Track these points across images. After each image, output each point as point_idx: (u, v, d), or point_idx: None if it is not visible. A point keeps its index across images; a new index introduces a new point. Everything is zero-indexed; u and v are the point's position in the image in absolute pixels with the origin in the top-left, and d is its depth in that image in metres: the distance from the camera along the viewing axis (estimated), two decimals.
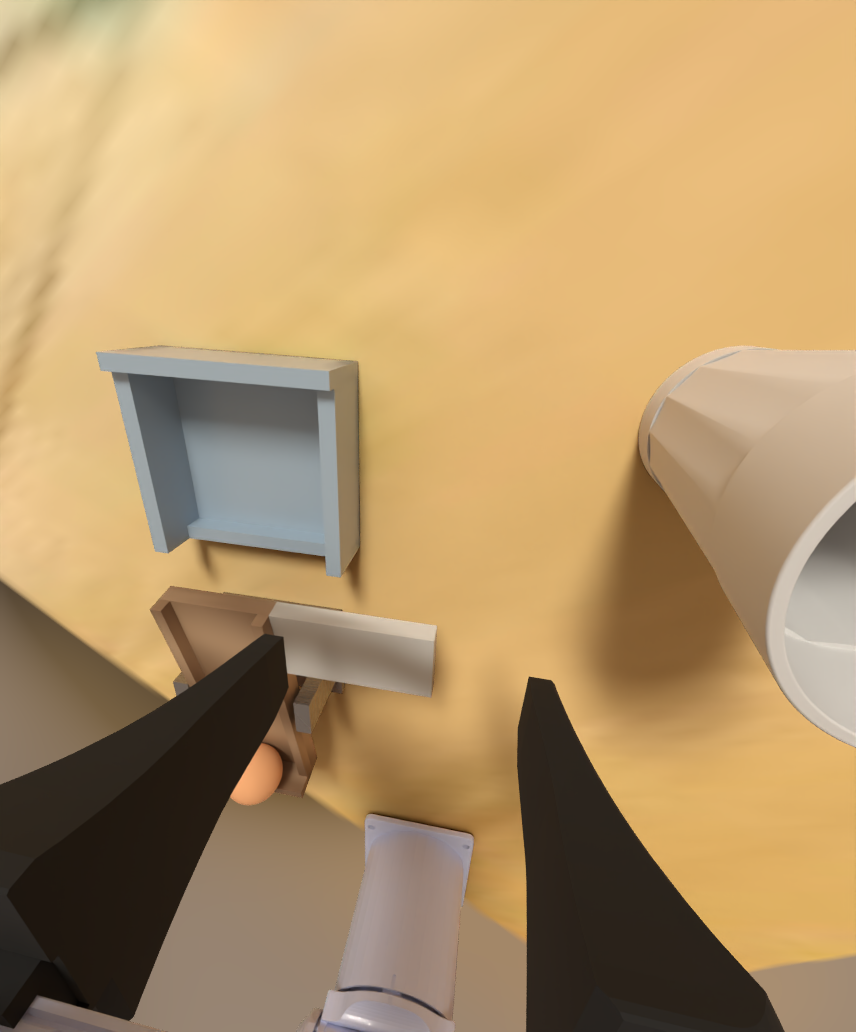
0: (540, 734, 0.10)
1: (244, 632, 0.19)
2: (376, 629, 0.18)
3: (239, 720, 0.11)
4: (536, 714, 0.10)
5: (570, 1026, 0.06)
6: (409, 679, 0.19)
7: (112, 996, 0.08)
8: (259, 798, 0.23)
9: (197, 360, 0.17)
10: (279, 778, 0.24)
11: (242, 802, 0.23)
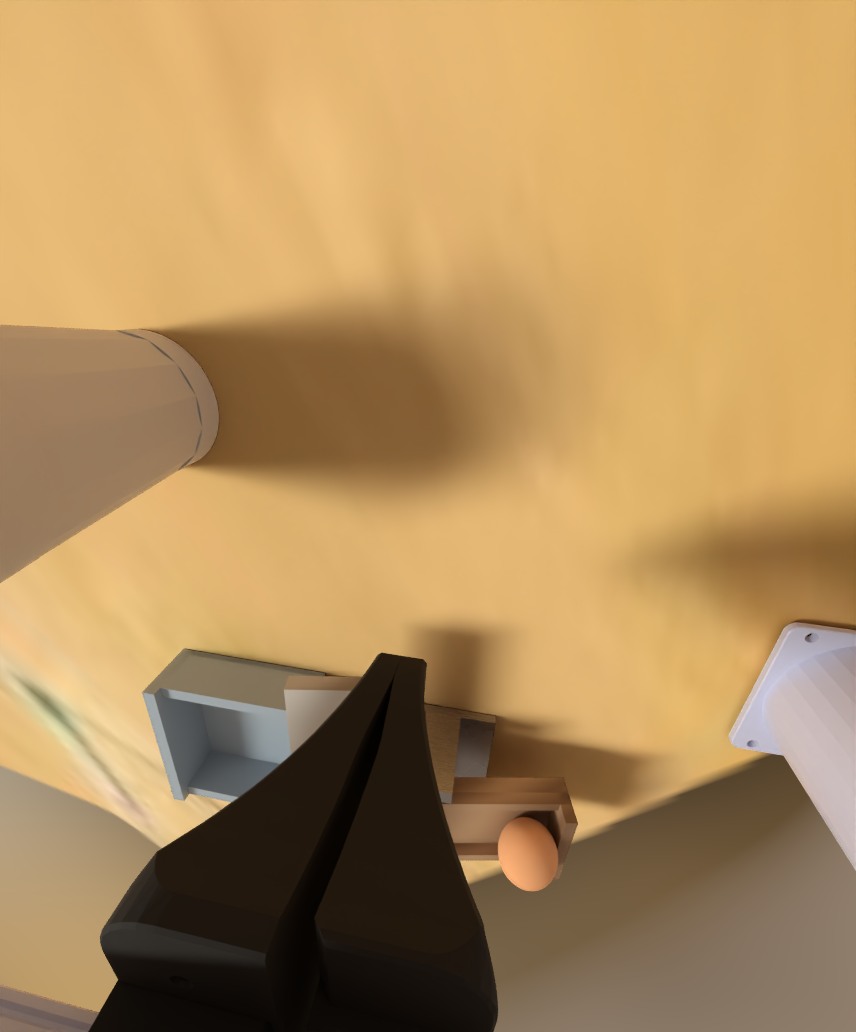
0: (387, 707, 0.10)
1: None
2: (288, 725, 0.20)
3: (376, 745, 0.11)
4: (391, 689, 0.11)
5: None
6: None
7: None
8: (533, 869, 0.21)
9: (161, 754, 0.27)
10: (532, 836, 0.22)
11: (535, 886, 0.21)
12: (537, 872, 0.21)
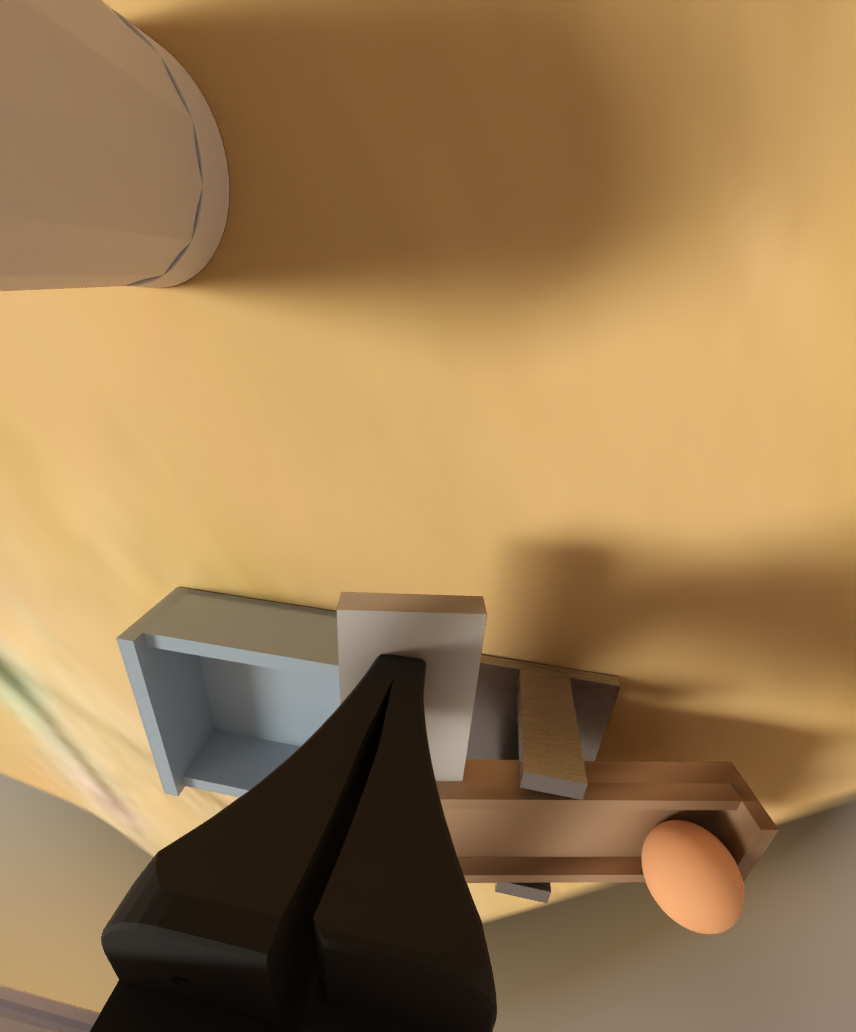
0: (387, 707, 0.10)
1: None
2: (339, 673, 0.13)
3: (376, 745, 0.11)
4: (391, 689, 0.11)
5: None
6: (442, 642, 0.12)
7: None
8: (717, 902, 0.14)
9: (146, 731, 0.19)
10: (705, 849, 0.14)
11: (718, 927, 0.14)
12: (723, 906, 0.13)
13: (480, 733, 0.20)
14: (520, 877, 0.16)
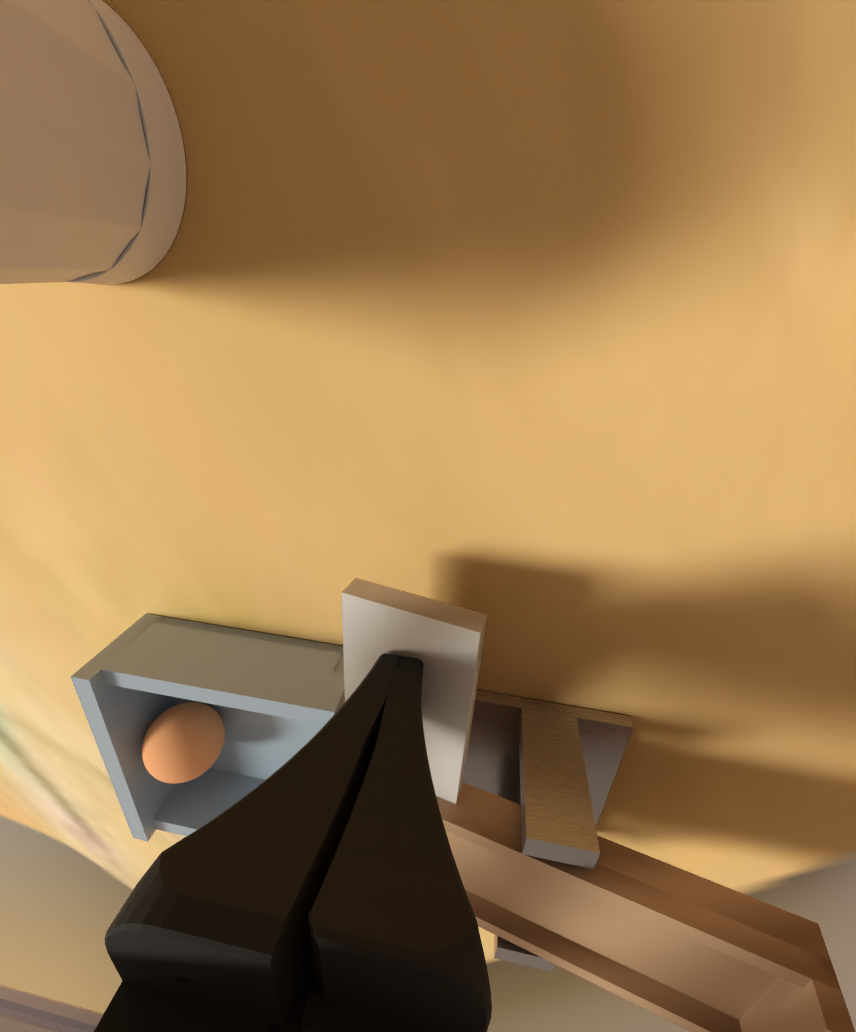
0: (384, 706, 0.10)
1: None
2: (345, 654, 0.13)
3: None
4: (388, 689, 0.11)
5: None
6: (435, 650, 0.12)
7: None
8: (147, 739, 0.17)
9: (109, 774, 0.17)
10: (177, 716, 0.18)
11: None
12: (146, 745, 0.17)
13: (478, 774, 0.18)
14: (510, 935, 0.15)
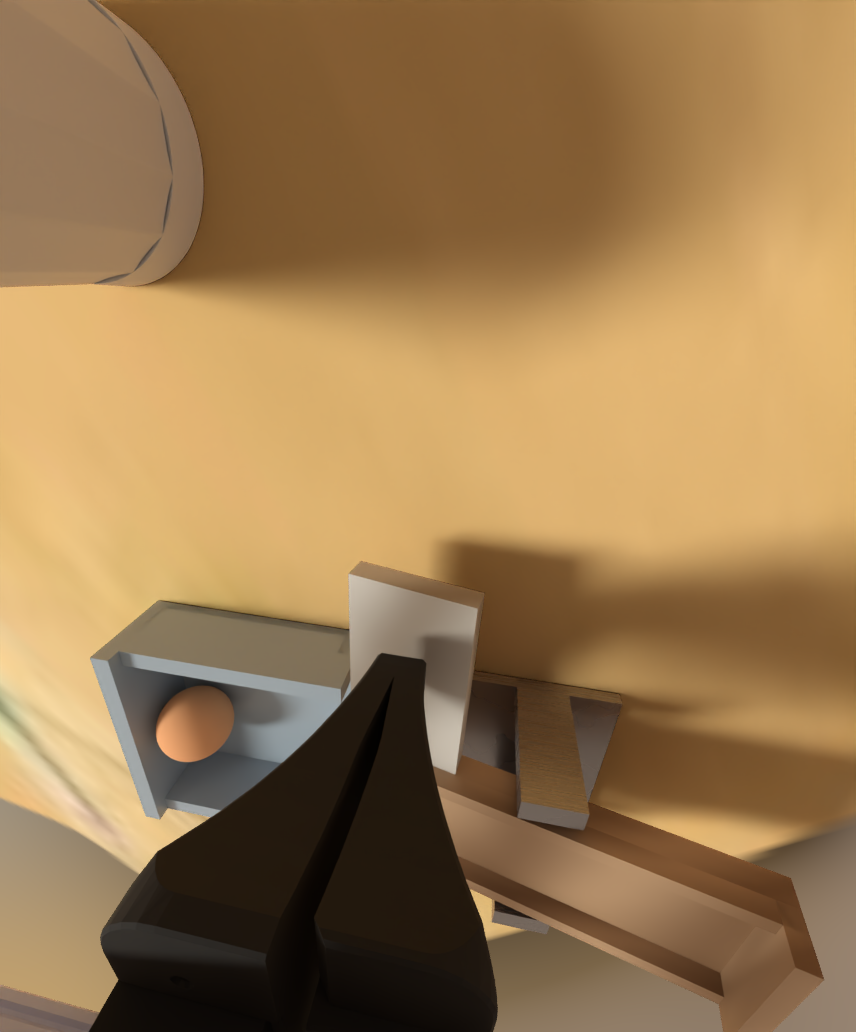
0: (387, 707, 0.10)
1: None
2: (351, 633, 0.14)
3: (375, 745, 0.11)
4: (391, 689, 0.11)
5: None
6: (435, 626, 0.13)
7: None
8: (160, 720, 0.18)
9: (124, 753, 0.18)
10: (189, 697, 0.18)
11: (157, 740, 0.18)
12: (160, 725, 0.18)
13: (476, 752, 0.19)
14: (507, 899, 0.16)
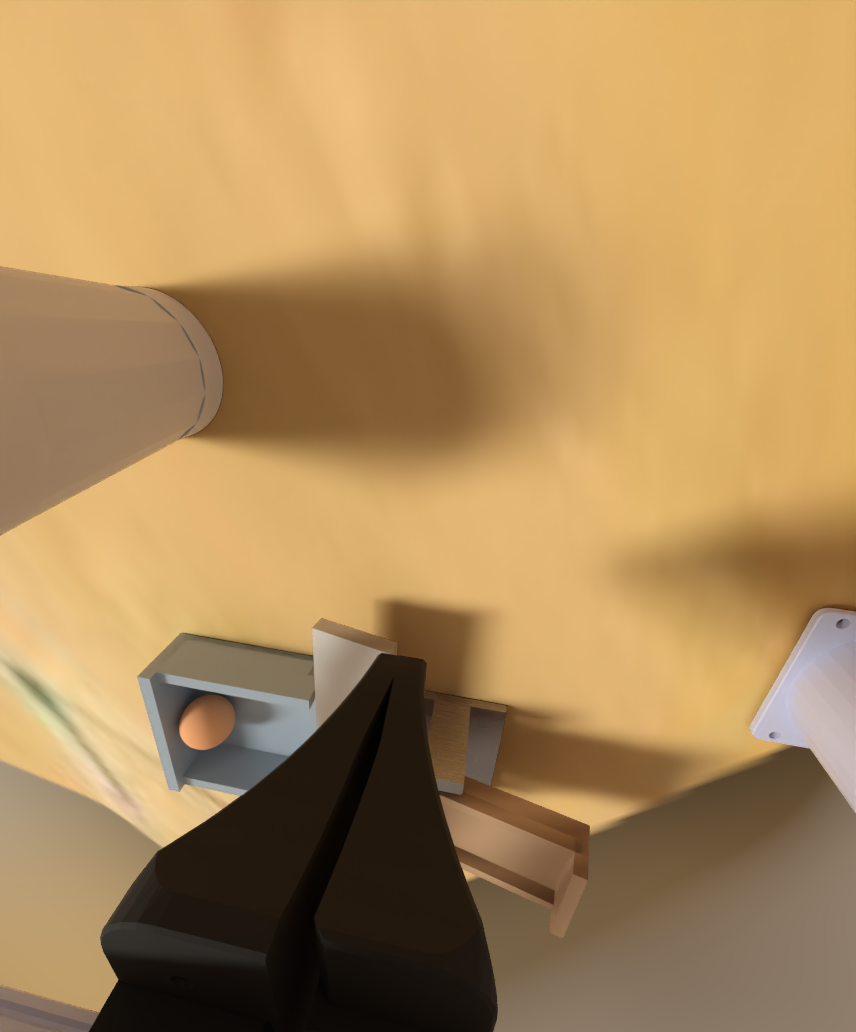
0: (387, 707, 0.10)
1: None
2: (315, 664, 0.22)
3: (376, 745, 0.11)
4: (391, 689, 0.11)
5: None
6: (366, 663, 0.20)
7: None
8: (183, 720, 0.25)
9: (156, 742, 0.25)
10: (203, 703, 0.26)
11: (180, 734, 0.25)
12: (183, 724, 0.25)
13: None
14: None
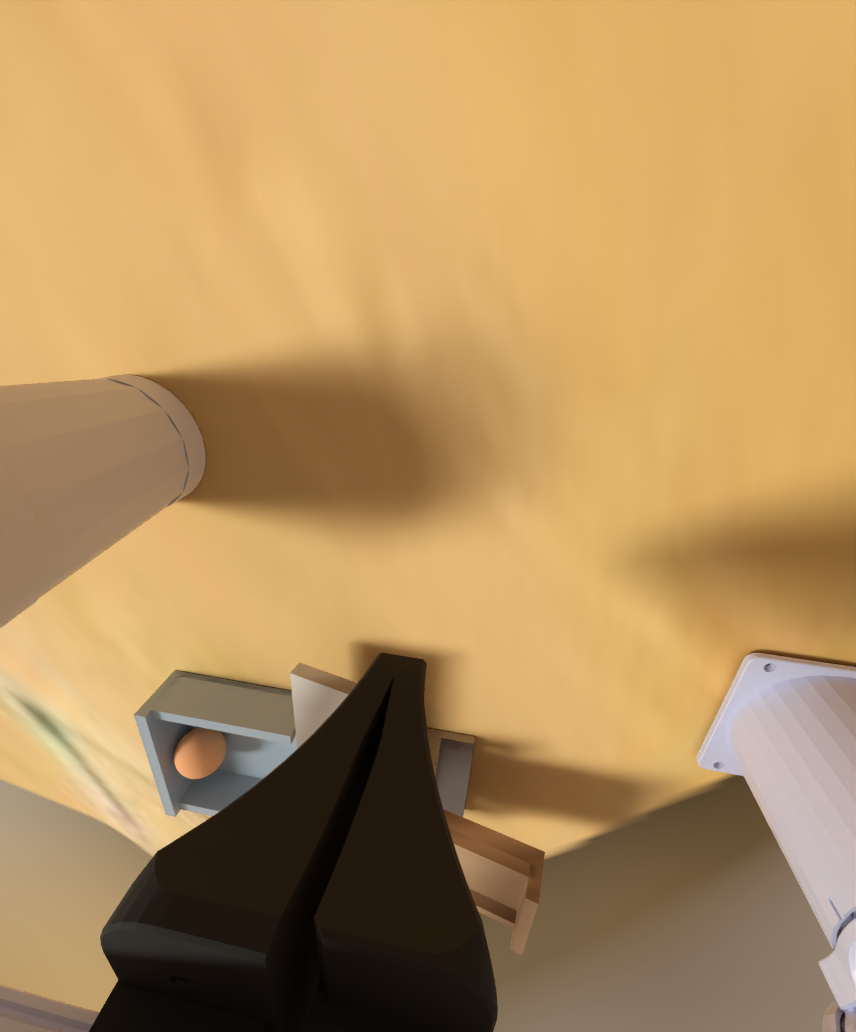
0: (387, 707, 0.10)
1: None
2: (294, 704, 0.24)
3: (375, 746, 0.11)
4: (391, 689, 0.11)
5: None
6: None
7: None
8: (177, 752, 0.27)
9: (153, 772, 0.27)
10: (196, 736, 0.28)
11: (175, 765, 0.27)
12: (177, 755, 0.27)
13: None
14: None
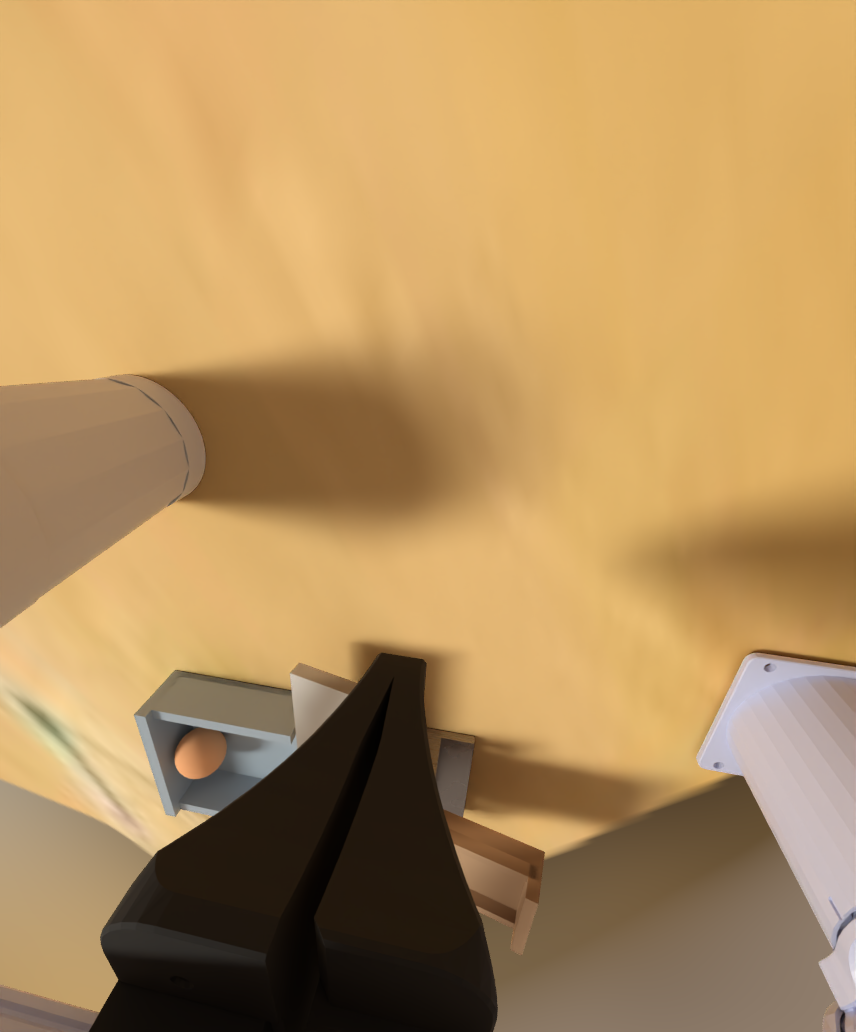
0: (387, 707, 0.10)
1: None
2: (294, 704, 0.24)
3: (375, 746, 0.11)
4: (391, 689, 0.11)
5: None
6: None
7: None
8: (178, 752, 0.27)
9: (153, 772, 0.27)
10: (197, 736, 0.28)
11: None
12: (178, 756, 0.27)
13: None
14: None
